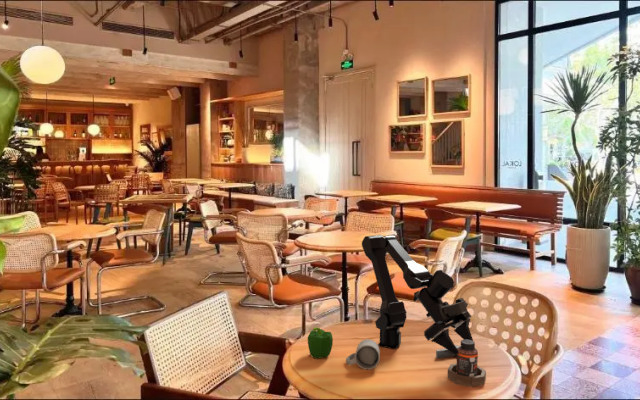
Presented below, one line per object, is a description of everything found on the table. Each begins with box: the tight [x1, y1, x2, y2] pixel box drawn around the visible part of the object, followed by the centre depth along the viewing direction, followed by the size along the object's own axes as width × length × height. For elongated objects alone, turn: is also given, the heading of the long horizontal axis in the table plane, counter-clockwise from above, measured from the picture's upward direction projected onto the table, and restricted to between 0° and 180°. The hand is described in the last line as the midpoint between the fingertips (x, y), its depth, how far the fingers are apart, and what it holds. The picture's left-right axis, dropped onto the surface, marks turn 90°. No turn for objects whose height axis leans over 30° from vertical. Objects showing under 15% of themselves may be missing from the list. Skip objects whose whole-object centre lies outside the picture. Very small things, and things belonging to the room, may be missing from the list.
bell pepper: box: [307, 326, 334, 359], centre depth 169 cm, size 8×8×10 cm
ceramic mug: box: [345, 338, 381, 370], centre depth 162 cm, size 11×8×8 cm
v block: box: [435, 344, 461, 359], centre depth 168 cm, size 8×12×2 cm, turn 65°
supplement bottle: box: [456, 339, 479, 377], centre depth 152 cm, size 6×6×11 cm
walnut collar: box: [446, 362, 487, 388], centre depth 153 cm, size 10×10×2 cm
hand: (465, 349), depth 152 cm, fingers open, 9 cm apart
